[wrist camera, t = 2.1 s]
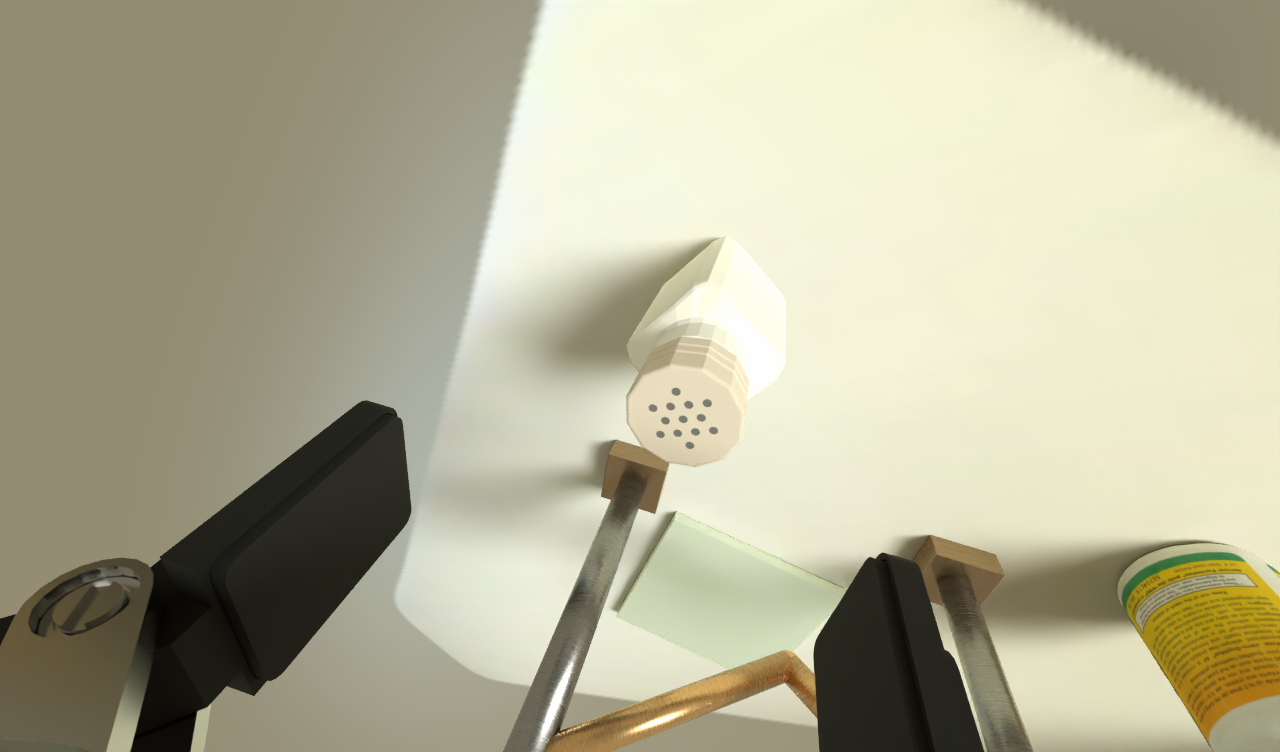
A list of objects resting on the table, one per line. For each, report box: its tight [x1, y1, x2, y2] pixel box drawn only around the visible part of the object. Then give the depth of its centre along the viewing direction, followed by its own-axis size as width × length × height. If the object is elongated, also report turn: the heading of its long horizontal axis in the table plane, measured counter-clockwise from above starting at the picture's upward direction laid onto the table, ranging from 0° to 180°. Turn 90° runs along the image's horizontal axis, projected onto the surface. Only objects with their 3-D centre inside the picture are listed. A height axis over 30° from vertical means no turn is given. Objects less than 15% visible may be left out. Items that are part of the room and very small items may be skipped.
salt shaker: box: [626, 236, 786, 467], centre depth 17 cm, size 4×4×10 cm
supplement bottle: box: [1117, 543, 1280, 752], centre depth 18 cm, size 5×5×10 cm
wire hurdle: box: [503, 440, 1033, 752], centre depth 20 cm, size 19×3×14 cm, turn 79°
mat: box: [617, 512, 845, 670], centre depth 30 cm, size 10×10×1 cm
